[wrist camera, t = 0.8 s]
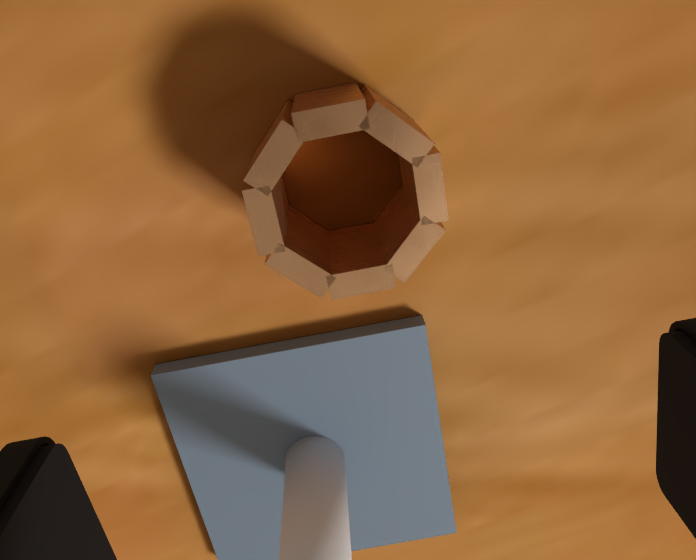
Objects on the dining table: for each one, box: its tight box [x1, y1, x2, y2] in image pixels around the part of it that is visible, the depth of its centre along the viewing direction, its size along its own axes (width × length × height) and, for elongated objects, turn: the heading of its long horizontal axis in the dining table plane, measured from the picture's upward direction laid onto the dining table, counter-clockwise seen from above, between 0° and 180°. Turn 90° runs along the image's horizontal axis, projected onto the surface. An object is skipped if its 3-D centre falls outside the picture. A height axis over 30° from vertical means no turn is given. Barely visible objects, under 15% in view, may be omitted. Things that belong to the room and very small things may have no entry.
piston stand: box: [151, 315, 456, 560], centre depth 28 cm, size 13×13×10 cm
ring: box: [242, 83, 449, 300], centre depth 24 cm, size 7×7×5 cm
